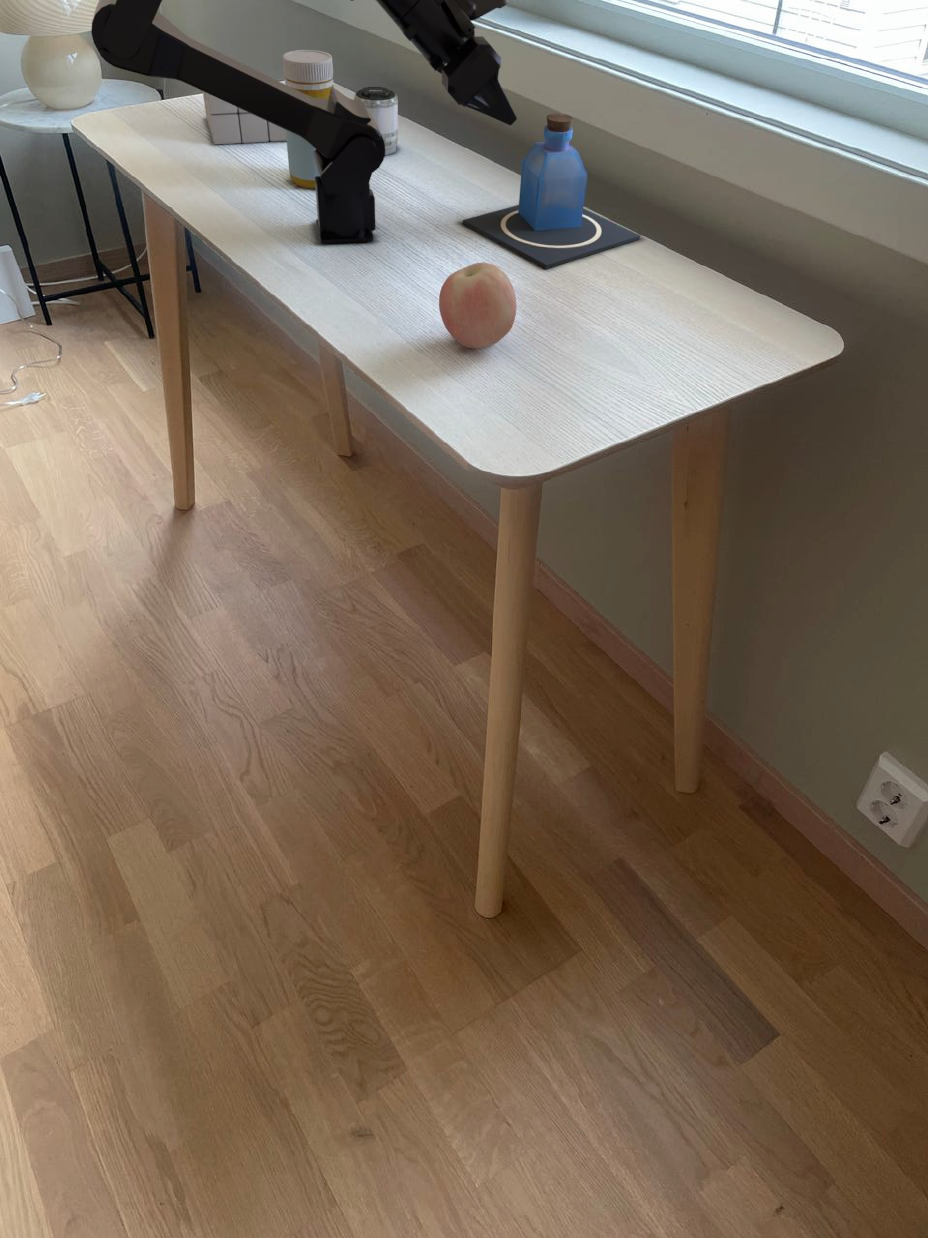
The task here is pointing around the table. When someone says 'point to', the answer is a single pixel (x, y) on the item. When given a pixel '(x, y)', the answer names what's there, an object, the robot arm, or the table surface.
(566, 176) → the perfume bottle
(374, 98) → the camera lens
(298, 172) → the bottle
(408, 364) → the table surface
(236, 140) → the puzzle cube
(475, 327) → the apple
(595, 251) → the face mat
